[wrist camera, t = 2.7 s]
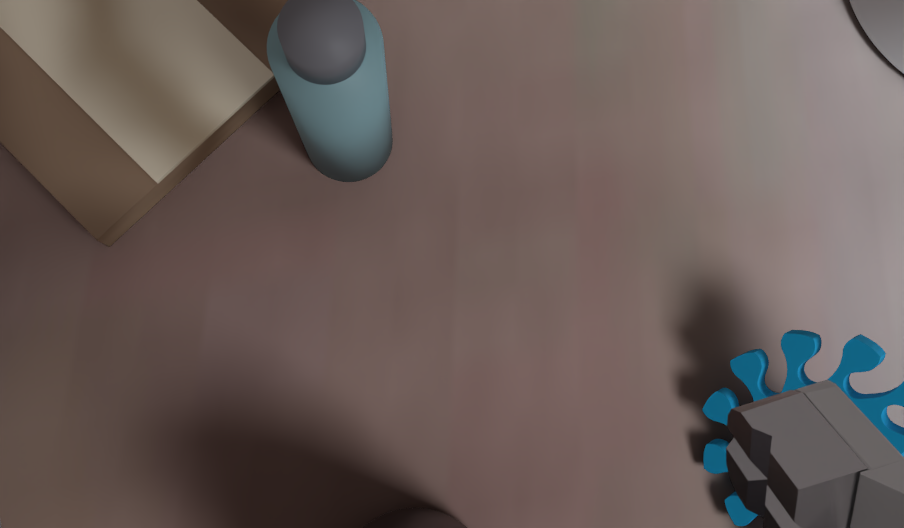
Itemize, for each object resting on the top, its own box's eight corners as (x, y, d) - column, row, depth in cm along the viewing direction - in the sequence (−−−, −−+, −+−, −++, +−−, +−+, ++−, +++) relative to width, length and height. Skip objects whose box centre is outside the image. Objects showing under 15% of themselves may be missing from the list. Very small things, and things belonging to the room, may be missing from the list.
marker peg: (349, 82, 39) (321, -54, 28) (410, 139, 39) (407, 26, 27) (287, 140, 38) (232, 26, 27) (348, 199, 38) (319, 109, 27)
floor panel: (132, -152, 41) (119, -176, 39) (334, 39, 39) (330, 22, 38) (-97, 38, 38) (-120, 21, 37) (109, 246, 37) (94, 239, 36)
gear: (672, 347, 36) (933, 319, 29) (727, 325, 40) (964, 296, 34) (724, 603, 35) (999, 633, 29) (773, 552, 40) (1021, 568, 33)
